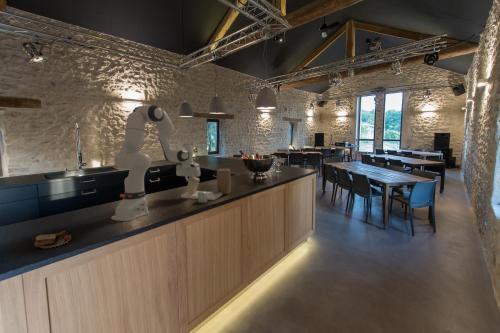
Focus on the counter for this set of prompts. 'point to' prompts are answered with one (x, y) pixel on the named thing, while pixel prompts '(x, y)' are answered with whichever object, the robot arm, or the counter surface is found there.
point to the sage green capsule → (202, 196)
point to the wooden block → (224, 180)
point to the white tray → (195, 196)
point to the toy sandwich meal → (52, 240)
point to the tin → (215, 190)
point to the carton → (192, 185)
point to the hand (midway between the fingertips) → (188, 181)
